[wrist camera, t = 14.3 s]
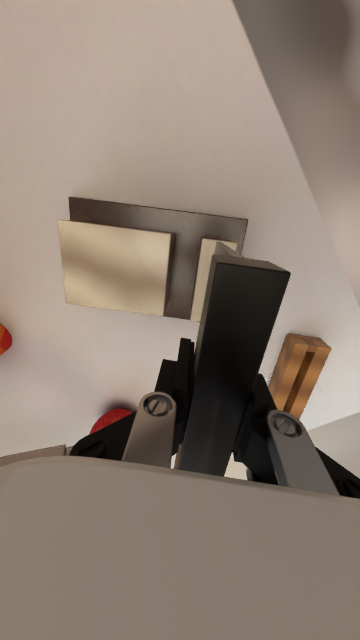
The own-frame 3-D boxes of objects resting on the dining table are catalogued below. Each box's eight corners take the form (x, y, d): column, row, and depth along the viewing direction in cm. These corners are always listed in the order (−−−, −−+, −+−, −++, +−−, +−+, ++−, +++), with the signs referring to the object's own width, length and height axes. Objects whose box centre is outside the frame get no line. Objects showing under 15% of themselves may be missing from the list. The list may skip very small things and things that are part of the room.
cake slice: (201, 236, 27) (202, 238, 22) (229, 239, 27) (237, 243, 22) (191, 304, 31) (190, 320, 25) (215, 307, 31) (220, 324, 25)
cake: (72, 197, 27) (34, 188, 21) (246, 219, 27) (262, 217, 21) (79, 302, 33) (51, 320, 27) (224, 322, 33) (231, 345, 26)
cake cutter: (205, 239, 15) (216, 262, 6) (233, 243, 15) (292, 272, 6) (182, 376, 20) (169, 513, 11) (204, 379, 20) (210, 519, 11)
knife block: (286, 333, 33) (295, 343, 30) (320, 338, 33) (331, 348, 30) (260, 408, 39) (265, 422, 36) (288, 412, 38) (295, 427, 36)
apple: (140, 436, 43) (125, 492, 34) (98, 425, 43) (72, 479, 34) (149, 406, 40) (135, 459, 31) (104, 394, 40) (77, 444, 31)
